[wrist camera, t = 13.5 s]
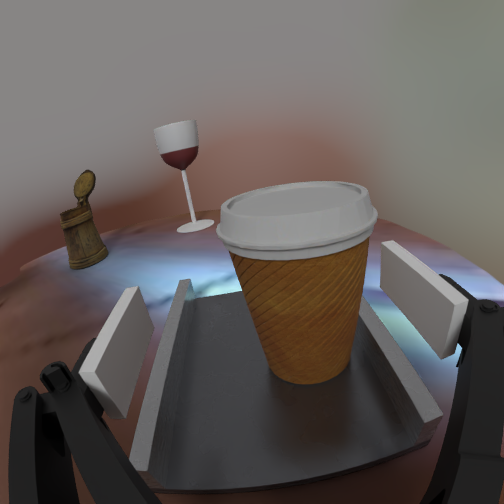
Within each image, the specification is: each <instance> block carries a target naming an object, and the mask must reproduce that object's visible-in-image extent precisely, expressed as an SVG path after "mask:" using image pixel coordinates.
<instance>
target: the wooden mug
mask: <svg viewBox="0 0 504 504" xmlns="http://www.w3.org/2000/svg"><path fill="white" fill-rule="evenodd" d="M95 180H96V178H95V174H94V173H93V172H92V171H90V170H86V171H85V172H83V173H82V174H81V175H80V176H79V178H78V179H77V180H76V182H75V185H74V195H75V197H76V198H77V199H78V203H77V204H78V206H77V208H74V209H70V210H67V211H65V212H62V213H61V214H60V215H61V227H62V229H63V231H64V235H65V241H66V246H67V250H68V255H69V264H70V268H71V269H81V268H85V267H88V266H91V265H94V264H96V263H98V262H100V261H101V260H103V259H104V258H105V257H106V256H107V255H108V250H107V248H106V246H105V245H104V244H103V242H102V240H101V238H100V235H99V234H98V231H97V229H96V227H95V224H94V222H93V216H92V211H91V207H90V204H89V202H88V197H89V195H90V194H91V193H92V191H93V189H94V187H95Z"/></svg>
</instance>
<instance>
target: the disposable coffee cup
mask: <svg viewBox="0 0 504 504" xmlns="http://www.w3.org/2000/svg"><path fill="white" fill-rule="evenodd" d="M377 217H378V214H377V211H376V209H375V208H374V207H373V206H372V204H371V201H370V197H369V194H368V190H367V189H366V188H365V187H363V186H360V185H358V184H353V183H347V182H335V181H314V182H300V183H289V184H283V185H277V186H271V187H266V188H261V189H257V190H254V191H250V192H246V193H243V194H240V195H237V196H235V197H233V198H231V199H229V200H227V201H226V202H225V203H223V204H222V205H221V222H220V223H219V224H218V226H217V229H216V231H217V235H218V237H219V239H220V240H222V241H223V243H224V246H225V248H226V249H228V250H229V253H230V256H231V259H232V262H233V265H234V268H235V271H236V274H237V277H238V280H239V282H240V285H241V288H242V291H243V294H244V297H245V300H246V303H247V306H248V308H249V311H250V314H251V317H252V320H253V323H254V326H255V329H256V331H257V334H258V337H259V340H260V343H261V345H262V348H263V351H264V354H265V357H266V359H267V362H268V365H269V367H270V369H271V370H272V371H273V373H274V374H275V375H277V376H278V377H279V378H281V379H283V380H285V381H288V382H291V383H295V384H316V383H321V382H324V381H327V380H330V379H331V378H333V377H335V376H337V375H338V374H339V373H340V372H342V371H343V370H344V369H345V367H346V366H347V365H348V363H349V361H350V356H351V351H352V346H353V341H354V336H355V332H356V326H357V321H358V316H359V310H360V303H361V297H362V292H363V285H364V278H365V271H366V264H367V256H368V247H369V237H370V235H371V233H372V231H373V225H374V224H375V223H376V221H377Z"/></svg>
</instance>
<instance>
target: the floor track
mask: <svg viewBox="0 0 504 504" xmlns="http://www.w3.org/2000/svg"><path fill="white" fill-rule="evenodd" d="M442 416H443V413H442V411H441V410H440V408H439V407H438V405H437V403H436V402H435V400H434V399H433V397H432V395H431V394H430V392H429V391H428V389H427V388H426V386H425V385H424V383H423V381H422V380H421V378H420V377H419V375H418V374H417V372H416V371H415V369H414V368H413V366H412V365H411V363H410V362H409V360H408V359H407V357H406V356H405V355H404V353H403V352H402V350H401V349H400V347H399V346H398V344H397V343H396V341H395V340H394V339H393V337H392V336H391V334H390V333H389V332H388V330H387V329H386V327H385V326H384V324H383V323H382V322H381V320H380V319H379V318H378V316H377V315H376V313H375V312H374V311H373V309H372V308H371V307H370V305H369V304H368V302H367V301H366V300H365V298H364V297H363V296H362V297H361V303H360V310H359V316H358V321H357V326H356V332H355V336H354V341H353V346H352V351H351V356H350V361H349V363H348V365H347V366H346V367H345V369H344V370H343V371H342V372H340V373H339V374H338V375H337V376H335V377H333V378H331V379H330V380H327V381H324V382H321V383H316V384H295V383H291V382H288V381H285V380H283V379H281V378H279V377H278V376H277V375H275V374H274V373H273V371H272V370H271V369H270V367H269V365H268V362H267V359H266V357H265V354H264V351H263V348H262V345H261V343H260V340H259V337H258V334H257V331H256V329H255V326H254V323H253V320H252V317H251V314H250V311H249V308H248V306H247V303H246V300H245V297H244V294H243V291H239V292H233V293H227V294H221V295H215V296H209V297H202V298H196V297H195V293H194V290H193V286H192V283H191V279H185V280H180V281H179V284H178V287H177V290H176V293H175V296H174V299H173V302H172V305H171V308H170V311H169V315H168V318H167V321H166V324H165V327H164V330H163V334H162V337H161V340H160V344H159V347H158V350H157V354H156V357H155V361H154V364H153V367H152V371H151V375H150V378H149V382H148V385H147V389H146V393H145V396H144V400H143V404H142V408H141V412H140V416H139V420H138V424H137V428H136V432H135V436H134V440H133V444H132V449H131V453H130V457H129V460H130V462H131V463H132V465H133V466H134V468H135V469H136V470H137V472H138V473H139V475H140V476H141V477H142V479H143V480H144V481H145V483H146V484H147V485H148V487H149V488H150V489H151V491H152V492H153V493H167V494H227V493H242V492H253V491H262V490H270V489H277V488H284V487H290V486H296V485H301V484H306V483H311V482H316V481H321V480H325V479H329V478H333V477H337V476H341V475H345V474H348V473H352V472H355V471H359V470H362V469H365V468H368V467H372V466H375V465H378V464H380V463H383V462H386V461H389V460H392V459H394V458H397V457H400V456H402V455H405V454H407V453H410V452H412V451H414V450H417V449H419V448H421V447H424V446H426V445H428V443H429V441H430V440H431V438H432V436H433V434H434V432H435V430H436V428H437V426H438V424H439V423H440V421H441V419H442Z"/></svg>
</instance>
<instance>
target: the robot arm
mask: <svg viewBox="0 0 504 504" xmlns="http://www.w3.org/2000/svg"><path fill="white" fill-rule="evenodd" d="M380 288H381V289H382V290H383V291H384V292H385V293H386V294H387V296H388V297H389V298H390V299H391V300H392V301H393V302H394V303H395V305H396V306H397V307H398V308H399V309H400V310H401V312H402V313H403V314H404V315H405V316H406V317H407V319H408V320H409V321H410V322H411V323H412V325H413V326H414V327H415V328H416V329H417V331H418V332H419V333H420V334H421V335H422V337H423V338H424V339H425V340H426V342H427V343H428V344H429V345H430V346H431V348H432V349H433V350H434V351H435V353H436V354H437V355H438V356H439V358H440V359H444V358H446V357H448V356H451V355H453V354H454V353H455V350H456V347H457V343H458V344H459V345H460V346H461V347H462V351H461V354H460V357H459V360H458V362H457V365H456V367H459V368H458V375H457V382H456V388H455V393H454V399H453V404H452V409H451V413H450V418H449V422H448V426H447V430H446V434H445V438H444V442H443V445H442V449H441V452H440V455H439V459H438V462H437V465H436V468H435V471H434V474H433V477H432V480H431V482H430V485H429V487H428V490H427V492H426V493H425V495H424V497H423V498H422V500H421V502H420V504H498V502H499V498H500V494H501V490H502V485H503V480H504V458H502V457H501V456H500V451H501V444H502V436H503V426H504V307H500V306H499V305H498V304H497V303H495V302H493V301H491V300H487V299H482V300H477V299H476V298H475V297H473V296H472V295H471V294H470V293H468V292H467V291H466V290H465V289H464V288H462V287H461V286H460V285H459V284H457V283H456V282H455V281H454V280H452V279H451V278H450V277H447V276H445V275H442V274H439V275H438V274H437V273H435V272H434V271H433V270H432V269H430V268H429V267H428V266H426V265H425V264H424V263H423V262H421V261H420V260H419V259H417V258H416V257H415V256H413V255H412V254H411V253H409V252H408V251H407V250H405V249H404V248H403V247H401V246H400V245H399V244H397V243H396V242H394V241H393V240H392V241H387V242H382V243H381V276H380ZM153 331H154V326H153V324H152V321H151V319H150V316H149V313H148V311H147V308H146V305H145V303H144V300H143V297H142V295H141V292H140V289H139V286H137V287H131V288H126V289H125V291H124V292H123V294H122V296H121V297H120V299H119V301H118V302H117V304H116V306H115V307H114V309H113V311H112V312H111V314H110V316H109V318H108V319H107V321H106V323H105V324H104V326H103V328H102V330H101V332H100V333H99V335H98V337H97V338H93V339H92V340H91V341H90V342H89V343H88V344H87V345H86V346H85V348H84V350H83V351H82V354H81V355H80V357H79V359H78V360H77V362H76V364H75V366H74V368H73V370H72V371H71V372H70V371H69V369H68V367H67V366H66V364H65V363H64V362H61V361H58V362H53V363H51V364H49V365H48V366H46V367H45V368H44V369H43V370H42V372H41V374H40V380H41V381H42V383H43V384H44V386H45V387H46V389H47V390H48V391H49V392H47V393H43V394H39V393H38V391H37V390H36V389H35V388H34V387H32V386H29V387H25V388H23V389H21V390H20V391H19V392H18V393H17V395H16V396H15V399H14V405H13V413H12V421H11V431H10V444H9V473H8V477H9V504H80V503H79V498H78V494H77V489H76V483H75V478H74V472H73V466H72V459H71V453H72V456H73V458H74V460H75V463H76V465H77V467H78V469H79V471H80V473H81V475H82V478H83V480H84V482H85V484H86V486H87V488H88V490H89V491H90V493H91V495H92V497H93V499H94V501H95V503H96V504H162V503H161V502H160V501H159V499H158V498H157V497H156V496H155V494H154V493H153V492H152V491H151V489H150V488H149V487H148V485H147V484H146V483H145V481H144V480H143V479H142V477H141V476H140V475H139V473H138V472H137V470H136V469H135V468H134V466H133V465H132V463H131V462H130V460H129V459H128V458H127V456H126V455H125V453H124V451H123V450H122V448H121V447H120V445H119V444H118V442H117V441H116V439H115V437H114V436H113V434H112V432H111V431H110V429H109V427H108V426H107V424H106V422H105V421H104V419H103V418H102V414H103V411H105V412H106V413H107V415H108V416H109V417H110V419H126V416H127V413H128V409H129V406H130V402H131V399H132V396H133V392H134V389H135V386H136V383H137V379H138V376H139V373H140V370H141V367H142V364H143V360H144V357H145V354H146V351H147V348H148V345H149V342H150V339H151V336H152V333H153Z"/></svg>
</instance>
